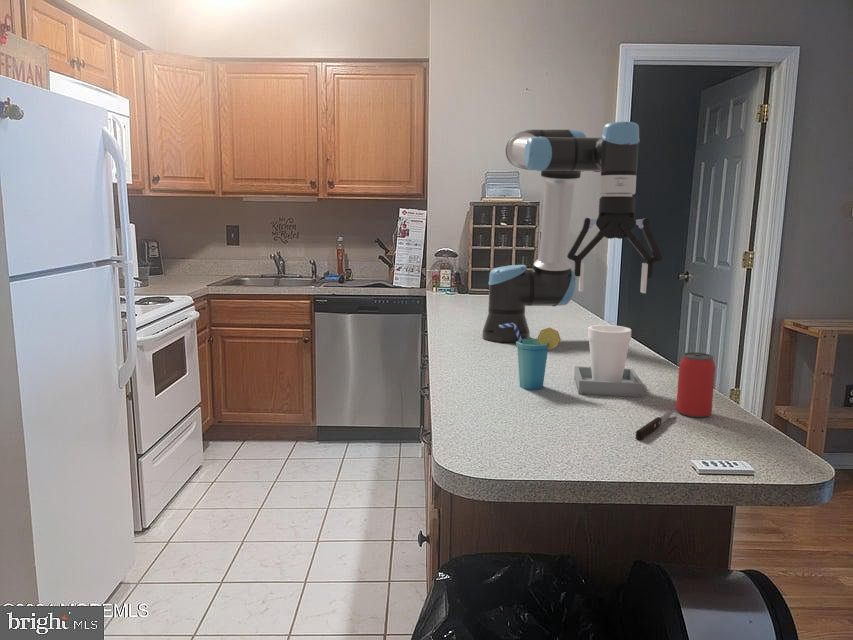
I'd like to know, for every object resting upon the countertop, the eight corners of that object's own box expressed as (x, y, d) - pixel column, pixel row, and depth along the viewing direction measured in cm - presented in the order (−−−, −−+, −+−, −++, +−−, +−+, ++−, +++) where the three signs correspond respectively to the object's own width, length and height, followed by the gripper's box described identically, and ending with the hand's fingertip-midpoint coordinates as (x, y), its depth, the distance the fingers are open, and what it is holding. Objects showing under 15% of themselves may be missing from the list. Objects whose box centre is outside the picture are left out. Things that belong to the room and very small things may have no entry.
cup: (498, 390, 139) (499, 325, 136) (496, 381, 147) (497, 319, 144) (560, 392, 138) (563, 326, 136) (555, 382, 146) (558, 320, 143)
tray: (574, 378, 150) (574, 366, 149) (632, 380, 148) (632, 368, 147) (578, 393, 137) (579, 380, 136) (642, 397, 135) (643, 383, 134)
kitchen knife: (640, 442, 108) (641, 431, 108) (634, 441, 109) (635, 430, 109) (674, 417, 122) (675, 407, 122) (669, 416, 123) (670, 406, 122)
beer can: (709, 410, 126) (714, 353, 124) (712, 420, 120) (718, 360, 118) (674, 406, 128) (679, 350, 126) (676, 416, 122) (681, 357, 120)
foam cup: (629, 390, 137) (633, 333, 134) (587, 388, 138) (589, 331, 136) (624, 379, 146) (628, 325, 144) (584, 377, 148) (587, 324, 145)
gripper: (560, 195, 133) (556, 292, 137) (681, 195, 129) (673, 295, 133) (558, 196, 141) (554, 288, 144) (672, 196, 137) (665, 291, 140)
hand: (611, 291), depth 139 cm, fingers open, 13 cm apart
